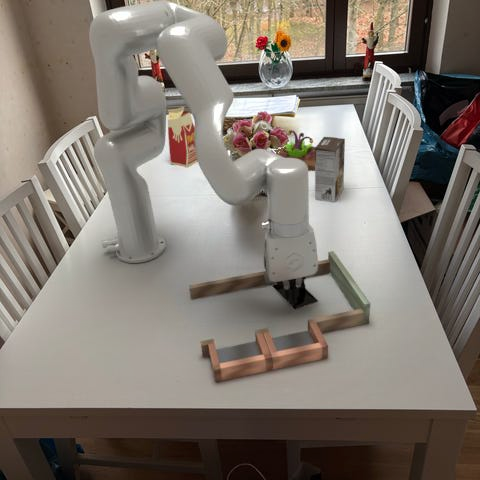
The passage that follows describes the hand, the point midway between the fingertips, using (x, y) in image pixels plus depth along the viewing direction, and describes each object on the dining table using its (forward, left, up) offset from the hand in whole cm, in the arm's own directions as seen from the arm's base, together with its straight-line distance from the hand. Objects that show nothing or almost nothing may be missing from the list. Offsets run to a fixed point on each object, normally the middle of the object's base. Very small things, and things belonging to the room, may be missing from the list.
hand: (291, 299), depth 103 cm
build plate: (+2, +4, -2) cm, 5 cm away
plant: (+25, +74, -2) cm, 78 cm away
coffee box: (+26, +46, -2) cm, 53 cm away
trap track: (-4, -3, -2) cm, 5 cm away
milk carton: (-12, +89, -2) cm, 90 cm away
